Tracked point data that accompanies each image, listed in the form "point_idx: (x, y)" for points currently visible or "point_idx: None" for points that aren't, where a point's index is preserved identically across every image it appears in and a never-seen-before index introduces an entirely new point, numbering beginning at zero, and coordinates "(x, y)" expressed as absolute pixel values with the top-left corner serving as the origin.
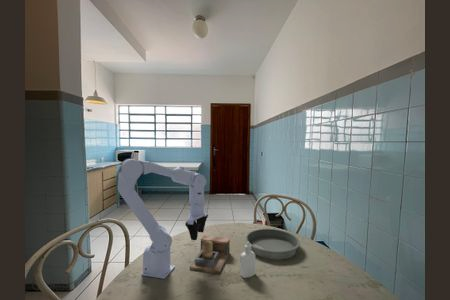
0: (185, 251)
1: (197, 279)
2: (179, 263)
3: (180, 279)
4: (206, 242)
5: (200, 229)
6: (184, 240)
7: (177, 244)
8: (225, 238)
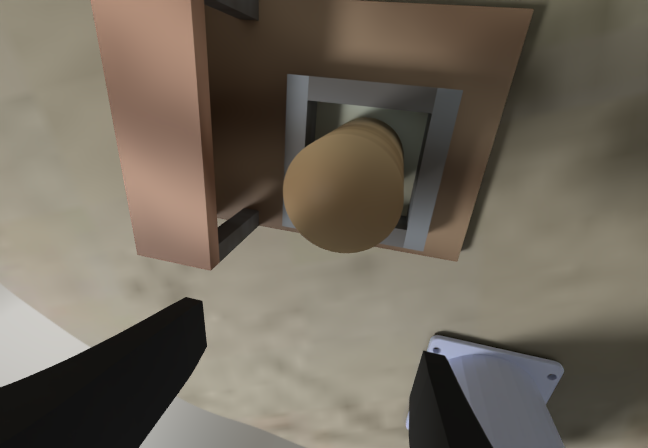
0: (257, 307)
1: (587, 181)
2: (389, 316)
3: (571, 284)
4: (333, 211)
5: (182, 352)
6: None
7: None
8: (106, 8)
